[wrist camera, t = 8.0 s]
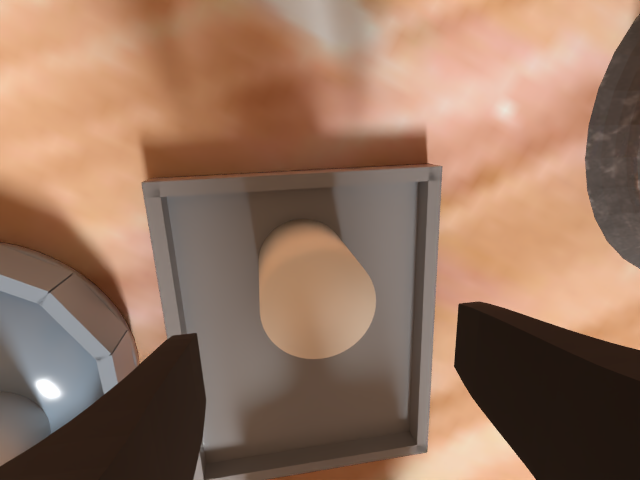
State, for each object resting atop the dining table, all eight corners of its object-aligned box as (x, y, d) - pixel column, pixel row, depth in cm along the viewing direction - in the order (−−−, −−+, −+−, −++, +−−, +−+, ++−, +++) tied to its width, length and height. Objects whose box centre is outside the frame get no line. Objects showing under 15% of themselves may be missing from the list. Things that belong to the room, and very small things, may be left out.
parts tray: (416, 432, 22) (427, 452, 20) (197, 468, 20) (192, 492, 19) (428, 163, 18) (442, 166, 16) (151, 178, 16) (141, 182, 15)
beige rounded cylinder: (345, 297, 18) (376, 351, 14) (262, 305, 18) (264, 365, 13) (344, 215, 17) (376, 246, 13) (254, 222, 17) (254, 256, 12)
